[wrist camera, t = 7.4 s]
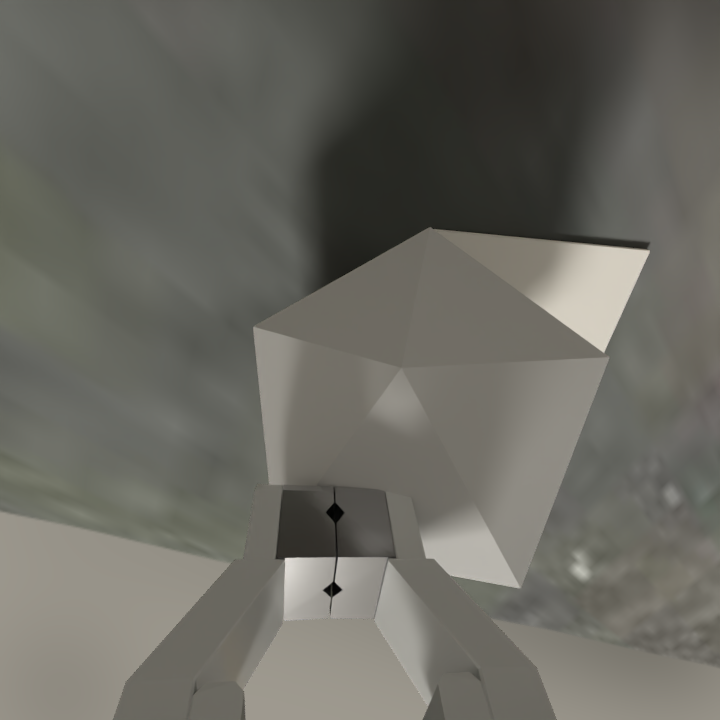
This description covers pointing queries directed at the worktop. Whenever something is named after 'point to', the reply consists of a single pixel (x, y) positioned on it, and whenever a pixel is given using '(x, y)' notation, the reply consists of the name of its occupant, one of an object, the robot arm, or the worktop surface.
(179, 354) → the worktop surface
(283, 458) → the die
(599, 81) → the worktop surface
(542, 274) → the pad
